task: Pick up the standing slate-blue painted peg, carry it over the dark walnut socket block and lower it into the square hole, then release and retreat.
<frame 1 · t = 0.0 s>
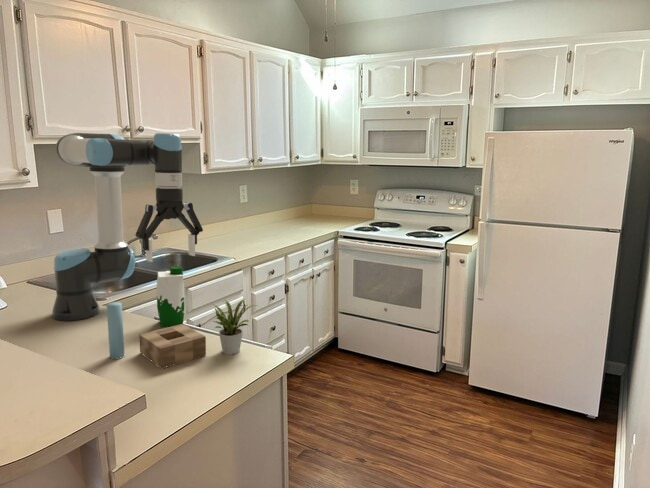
hand: (171, 258, 147), 28 cm above the worktop, fingers open, 13 cm apart
peg: (117, 356, 144), on the worktop
milk carton: (171, 323, 172), on the worktop
house plant: (235, 350, 151), on the worktop
socket block: (172, 354, 146), on the worktop
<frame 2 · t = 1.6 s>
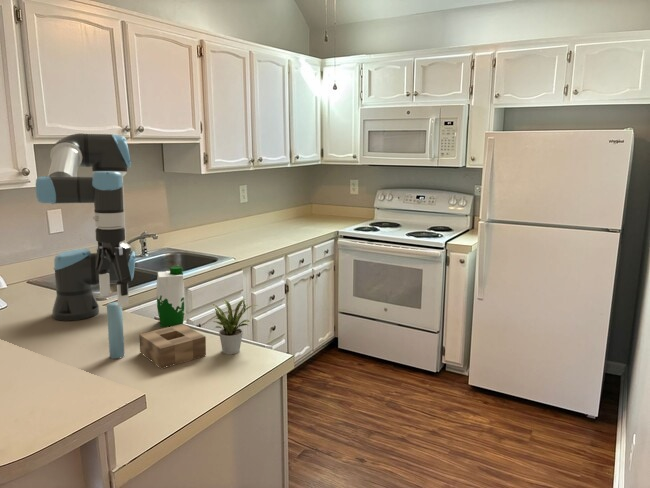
hand: (114, 300, 140), 17 cm above the worktop, fingers open, 13 cm apart
nothing on the worktop moved.
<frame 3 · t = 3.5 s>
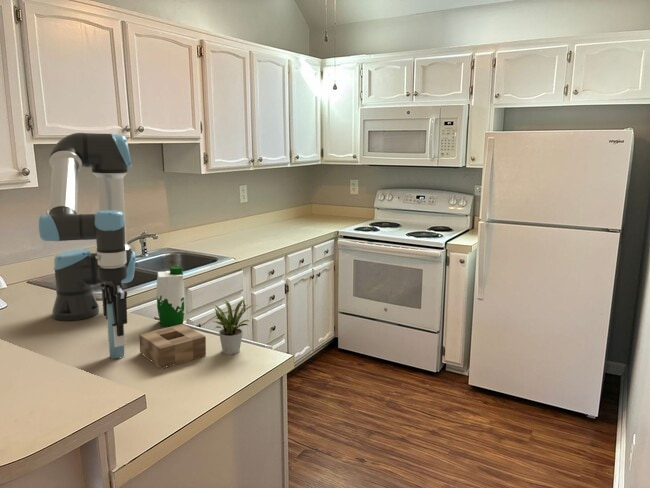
hand: (116, 343, 143), 4 cm above the worktop, fingers closed on peg, 4 cm apart
peg: (117, 356, 144), on the worktop, touching gripper
everything else where it was.
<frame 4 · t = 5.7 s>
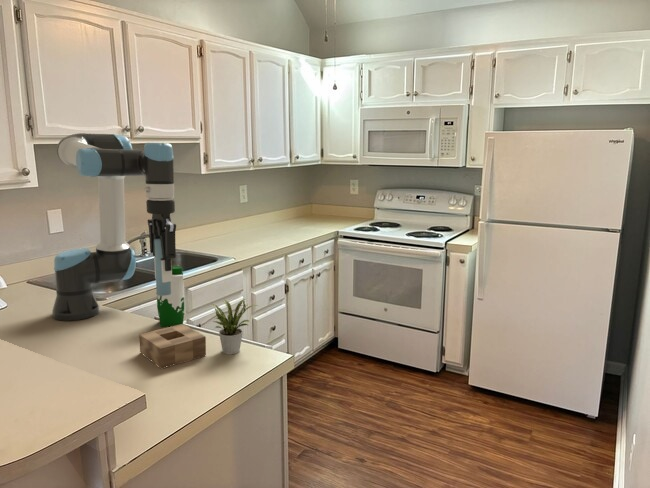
hand: (163, 279, 141), 23 cm above the worktop, fingers closed on peg, 4 cm apart
peg: (163, 293, 142), point 19 cm above the worktop, touching gripper
everything else where it was.
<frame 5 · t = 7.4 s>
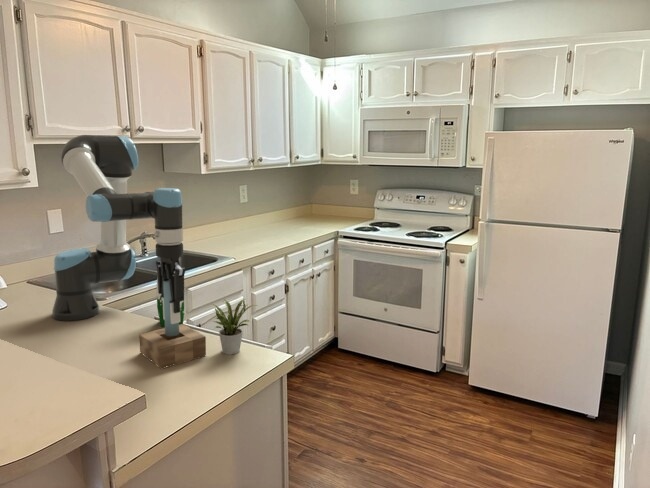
hand: (171, 320, 144), 11 cm above the worktop, fingers closed on peg, 4 cm apart
peg: (172, 333, 145), point 6 cm above the worktop, touching gripper
everything else where it was.
when the fingers open (7 cm above the worktop, at t = 8.3 s): peg drops 2 cm, resting in socket block.
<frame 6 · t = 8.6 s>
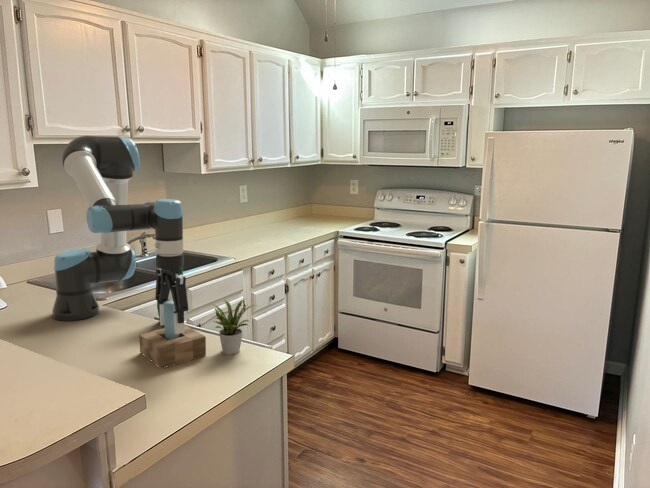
hand: (172, 328, 145), 8 cm above the worktop, fingers open, 8 cm apart
peg: (172, 354, 146), resting in socket block
everything else where it was.
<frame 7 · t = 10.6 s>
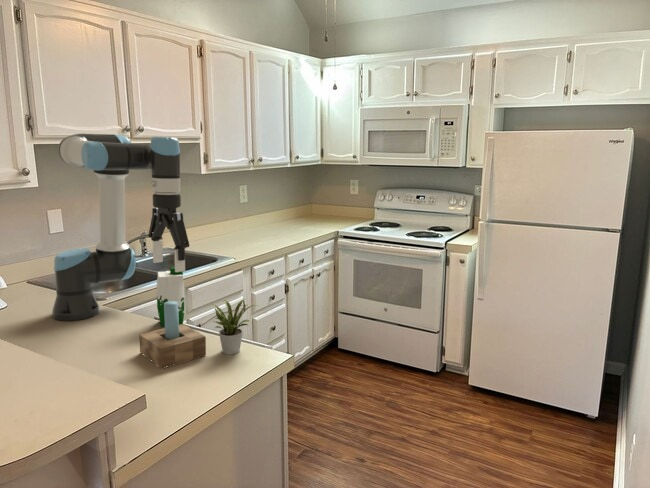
hand: (168, 266, 141), 27 cm above the worktop, fingers open, 13 cm apart
nothing on the worktop moved.
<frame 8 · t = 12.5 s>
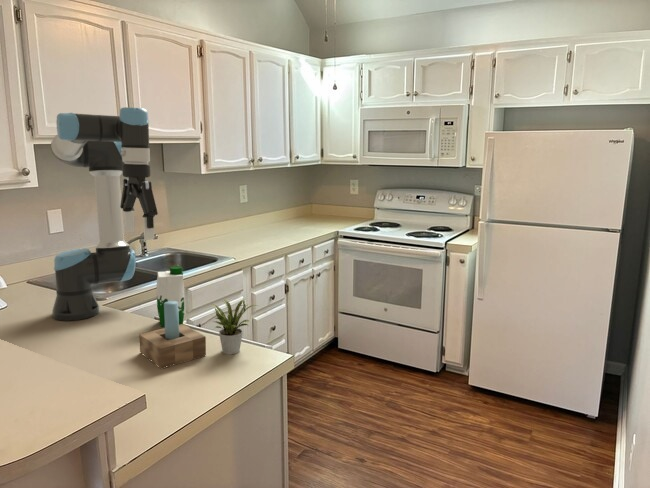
hand: (139, 236, 145), 35 cm above the worktop, fingers open, 13 cm apart
nothing on the worktop moved.
at the end: peg 0.0 cm off-centre on the socket block, point 0.0 cm above the socket block's base; peg tilted 0°; the gripper is holding nothing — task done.
